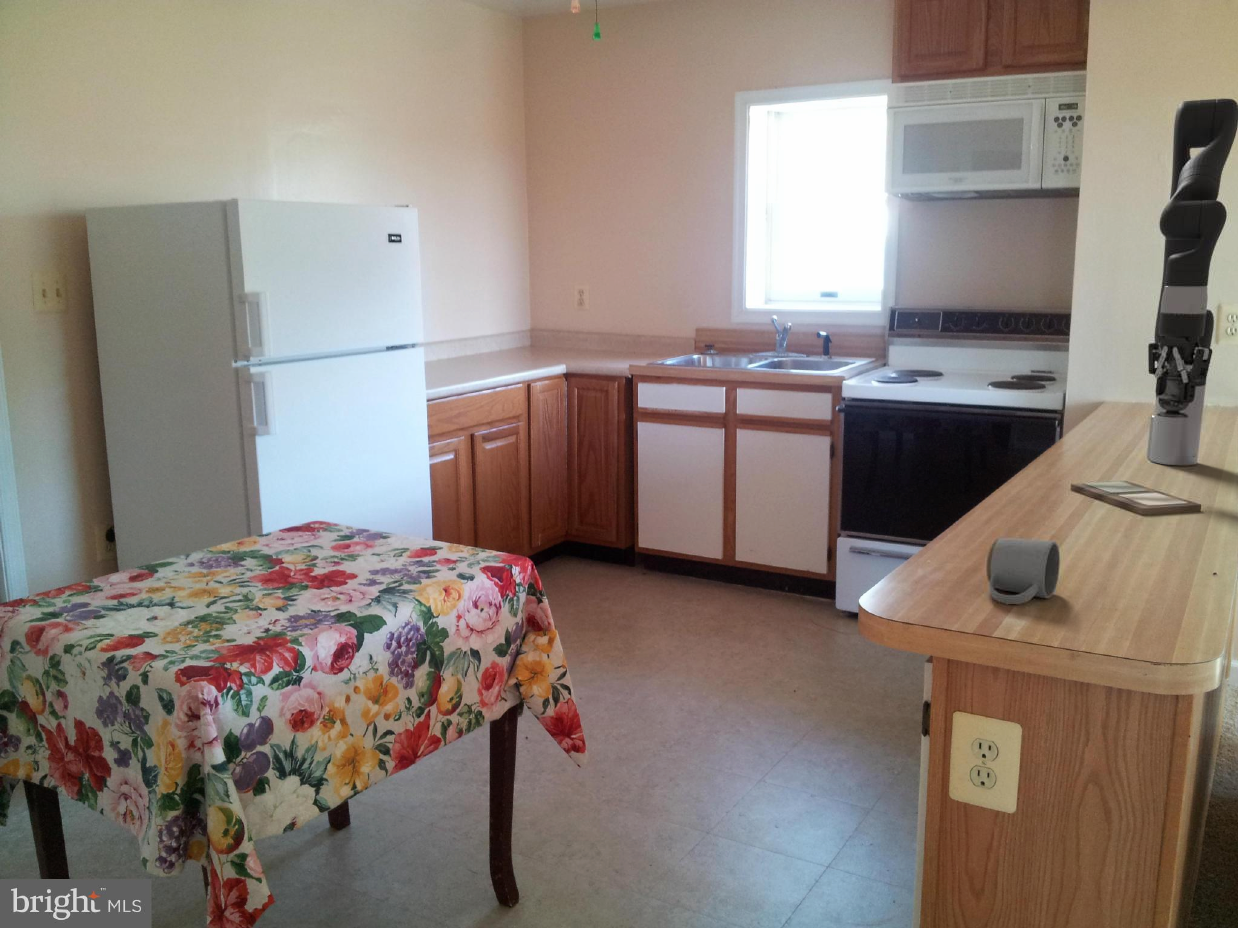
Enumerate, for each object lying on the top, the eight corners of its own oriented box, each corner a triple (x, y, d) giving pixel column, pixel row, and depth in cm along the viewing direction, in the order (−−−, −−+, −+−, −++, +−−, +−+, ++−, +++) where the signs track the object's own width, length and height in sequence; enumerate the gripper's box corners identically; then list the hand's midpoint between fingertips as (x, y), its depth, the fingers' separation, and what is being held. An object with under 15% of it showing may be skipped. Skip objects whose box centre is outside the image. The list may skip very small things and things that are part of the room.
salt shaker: (1194, 418, 192) (1201, 354, 189) (1160, 417, 193) (1167, 354, 190) (1184, 413, 197) (1190, 351, 195) (1151, 413, 199) (1157, 351, 196)
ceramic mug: (998, 579, 146) (1001, 527, 145) (1059, 589, 142) (1063, 536, 140) (974, 600, 138) (977, 546, 136) (1037, 612, 133) (1042, 556, 132)
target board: (1070, 489, 200) (1071, 482, 199) (1124, 486, 202) (1125, 479, 202) (1141, 515, 181) (1142, 507, 180) (1200, 511, 183) (1201, 503, 183)
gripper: (1230, 312, 185) (1220, 405, 188) (1172, 308, 199) (1163, 394, 202) (1194, 313, 184) (1184, 406, 187) (1138, 309, 197) (1130, 396, 201)
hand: (1173, 400), depth 195 cm, fingers closed on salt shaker, 6 cm apart
